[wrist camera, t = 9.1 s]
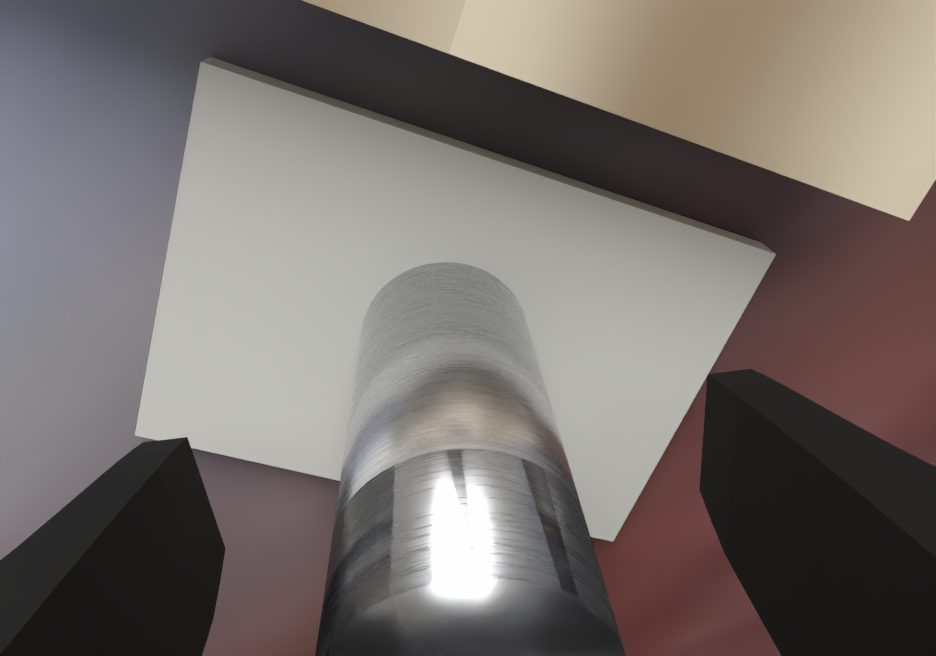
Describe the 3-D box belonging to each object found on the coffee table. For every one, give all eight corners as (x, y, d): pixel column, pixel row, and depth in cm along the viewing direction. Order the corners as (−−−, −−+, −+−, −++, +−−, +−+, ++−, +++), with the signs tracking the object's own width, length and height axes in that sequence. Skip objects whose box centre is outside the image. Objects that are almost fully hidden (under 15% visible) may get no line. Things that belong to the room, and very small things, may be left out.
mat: (761, 242, 13) (775, 254, 13) (606, 522, 16) (612, 541, 16) (210, 56, 11) (200, 62, 11) (145, 417, 14) (134, 435, 13)
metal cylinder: (509, 244, 12) (605, 546, 6) (540, 388, 14) (644, 752, 7) (339, 285, 12) (263, 620, 6) (388, 422, 14) (364, 808, 8)
